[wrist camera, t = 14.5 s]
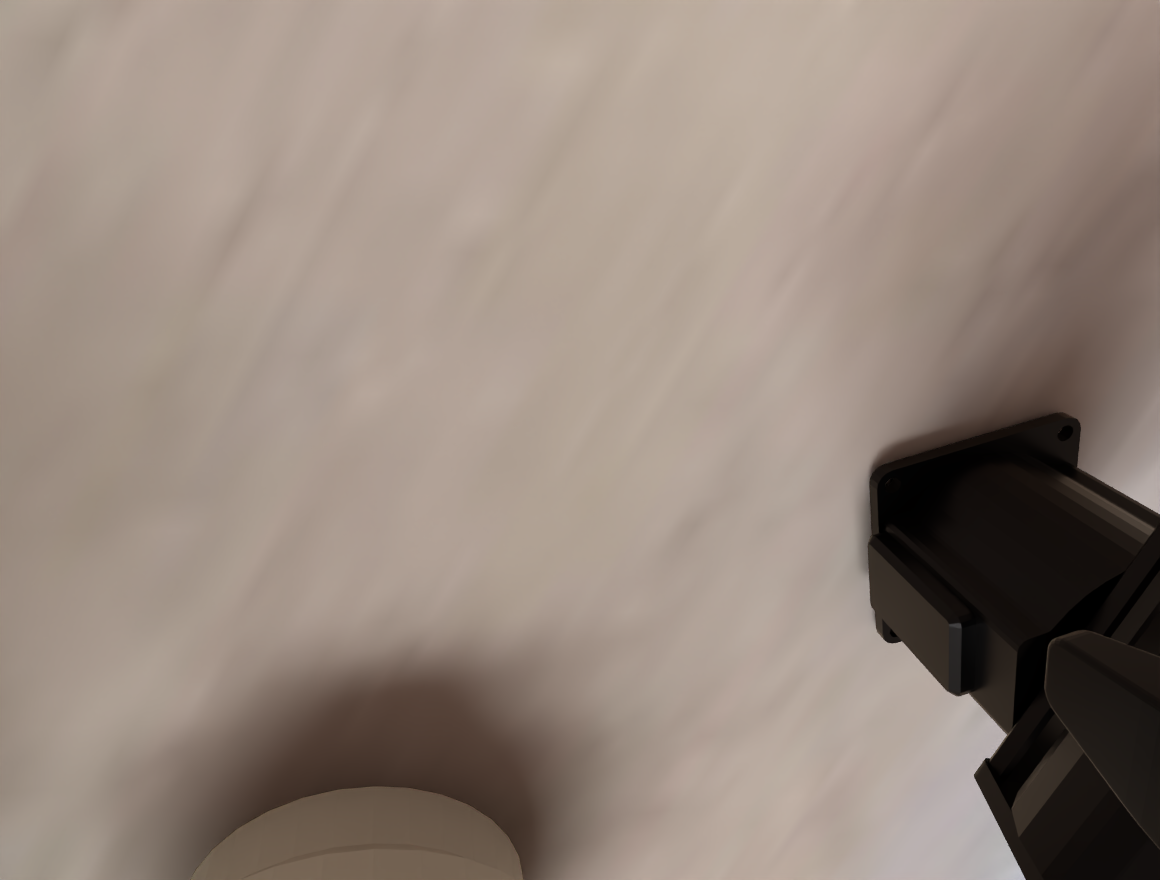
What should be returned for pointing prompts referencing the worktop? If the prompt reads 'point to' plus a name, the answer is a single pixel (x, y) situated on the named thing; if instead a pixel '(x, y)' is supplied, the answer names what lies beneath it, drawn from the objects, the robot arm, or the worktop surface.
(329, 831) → the flag stand
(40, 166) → the worktop surface
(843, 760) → the worktop surface
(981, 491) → the robot arm
